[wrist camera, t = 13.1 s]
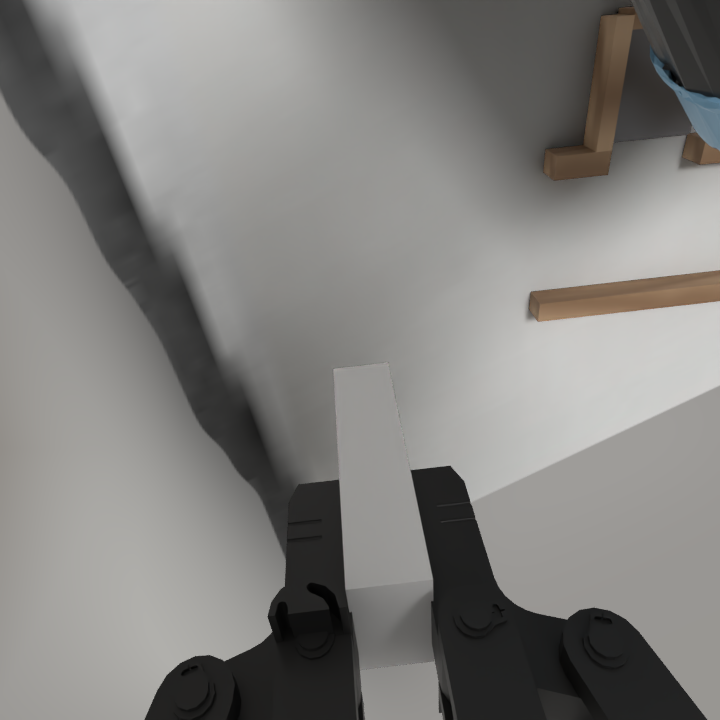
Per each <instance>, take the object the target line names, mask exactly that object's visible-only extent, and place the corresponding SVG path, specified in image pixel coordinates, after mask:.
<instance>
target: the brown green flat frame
mask: <svg viewBox="0 0 720 720" xmlns="http://www.w3.org/2000/svg"><path fill="white" fill-rule="evenodd" d="M691 126H692V124H691V122H690V120H689V118H688V116H687V114H686V112H685V110H684V108H683V106H682V104H681V103H680V101H679V99H678V97H677V95H676V93H675V91H674V90H673V89H672V88H670V87H669V86H668V85H667V84H666V83H665V82H664V81H663V80H662V78H661V77H660V76H659V74H658V73H657V72H656V70H655V67H654V65H653V63H652V60H651V58H650V43H649V41H648V38H647V36H646V34H645V31H644V29H643V27H642V25H641V22H640V20H639V18H638V15H637V13H636V11H635V9H634V6H632V7H623V8H619V11H618V14H614V15H604V16H601V20H600V27H599V34H598V41H597V49H596V56H595V63H594V70H593V77H592V84H591V92H590V99H589V106H588V113H587V120H586V127H585V135H584V142H583V145H578V146H569V147H560V148H551V149H545V159H544V169H543V173H545V174H546V175H547V176H549V177H550V178H551V179H553V180H554V181H556V180H565V179H574V178H583V177H592V176H601V175H608V172H609V166H610V160H611V154H612V148H613V142H623V141H632V140H641V139H650V138H659V137H668V136H678V135H687V139H686V143H685V147H684V151H683V155H682V157H683V158H685V159H688V160H690V161H692V162H695V163H697V164H699V165H701V164H710V163H719V162H720V151H719V150H718V149H715V148H713V147H711V146H709V145H708V144H707V143H706V142H705V141H704V140H703V139H702V138H701V137H700V136H699V135H698V133H690V130H691ZM716 301H720V271H711V272H702V273H693V274H685V275H676V276H667V277H658V278H649V279H640V280H631V281H623V282H614V283H605V284H596V285H587V286H578V287H569V288H561V289H552V290H543V291H534V292H531V295H530V305H529V310H530V311H531V312H532V314H533V315H534V317H535V318H536V320H537V321H538V322H540V321H549V320H557V319H566V318H575V317H584V316H593V315H601V314H610V313H619V312H628V311H637V310H645V309H654V308H663V307H672V306H681V305H689V304H698V303H707V302H716Z"/></svg>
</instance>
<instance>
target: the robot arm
mask: <svg viewBox="0 0 720 720" xmlns="http://www.w3.org/2000/svg"><path fill="white" fill-rule="evenodd" d="M631 2H632V4H633V6H634V9H635V11H636V13H637V15H638V18H639V20H640V22H641V25H642V27H643V29H644V31H645V34H646V36H647V38H648V41H649V43H650V58H651V60H652V63H653V65H654V67H655V70H656V72H657V73H658V74H659V76H660V77H661V78H662V80H663V81H664V82H665V83H666V84H667V85H668V86H669V87H670V88H672V89H673V90H674V91H675V93H676V95H677V97H678V99H679V101H680V103H681V104H682V106H683V108H684V110H685V112H686V114H687V116H688V118H689V120H690V122H691V124H692V126H693V128H694V129H695V130H696V132H697V133H698V135H699V136H700V137H701V138H702V139H703V140H704V141H705V142H706V143H707V144H708V145H709V146H711V147H713V148H715V149H718V150H719V151H720V0H631ZM333 375H334V393H335V411H336V429H337V447H338V465H339V480H334V481H325V482H316V483H307V484H299V485H298V487H297V488H296V490H295V492H294V494H293V496H292V498H291V500H290V502H289V510H288V531H287V553H286V574H285V587H283V588H282V589H281V590H280V591H279V592H278V594H277V595H276V597H275V598H274V599H273V601H272V602H271V606H270V610H269V613H268V619H269V622H270V625H271V629H272V631H273V632H272V633H271V634H270V635H269V636H268V637H267V638H266V639H265V640H264V641H263V642H262V643H261V644H259V645H257V646H255V647H253V648H252V649H250V650H248V651H246V652H244V653H242V654H239V655H237V656H235V657H233V658H231V659H229V660H226V661H223V660H221V659H218V658H216V657H213V656H210V655H207V656H195V657H193V658H191V659H189V660H186V661H184V662H182V663H180V664H179V665H178V666H177V667H176V668H175V669H173V670H172V671H171V672H170V673H169V674H168V675H167V676H166V678H165V679H164V681H163V683H162V684H161V686H160V687H159V689H158V690H157V693H156V695H155V697H154V699H153V702H152V704H151V706H150V708H149V711H148V713H147V715H146V718H145V720H365V717H364V703H363V698H362V692H361V680H360V670H364V669H373V668H381V667H389V666H398V665H407V664H415V663H423V662H431V661H434V658H435V664H436V669H437V674H438V680H439V713H442V715H443V720H707V719H706V718H705V716H704V715H703V714H702V712H701V711H700V710H699V709H698V707H697V706H696V705H695V703H694V702H693V701H692V699H691V698H690V697H689V696H688V694H687V693H686V692H685V691H684V689H683V688H682V687H681V686H680V684H679V683H678V681H676V679H675V678H674V676H673V675H672V674H671V673H670V671H669V670H668V669H667V668H666V666H665V665H664V664H663V662H662V661H661V660H660V658H659V657H658V656H657V655H656V653H655V652H654V651H653V649H652V648H651V647H650V646H649V645H648V643H647V642H646V641H645V639H644V638H643V637H642V635H641V634H640V633H639V632H638V631H637V630H636V629H635V628H634V627H633V626H632V625H631V624H630V623H629V622H628V621H627V620H626V619H624V618H622V617H621V616H619V615H617V614H615V613H613V612H611V611H608V610H603V609H598V608H590V609H583V610H579V611H578V612H576V613H575V614H573V615H572V616H570V617H569V618H568V620H565V619H561V618H556V617H551V616H546V615H541V614H537V613H533V612H530V611H527V610H525V609H523V608H521V607H519V606H517V605H516V604H514V603H513V602H512V601H510V600H509V599H508V598H507V597H506V596H505V595H504V594H503V592H502V591H501V590H500V589H499V587H498V585H497V583H496V581H495V579H494V576H493V572H492V569H491V566H490V563H489V560H488V557H487V553H486V550H485V547H484V544H483V540H482V537H481V534H480V531H479V528H478V524H477V521H476V520H475V515H474V512H473V508H472V505H471V504H470V499H469V495H468V492H467V489H466V486H465V483H464V481H463V480H462V479H461V477H460V476H459V475H458V474H457V473H456V472H455V471H454V470H453V469H452V467H451V466H444V467H436V468H427V469H418V470H410V465H409V461H408V456H407V451H406V446H405V441H404V436H403V432H402V427H401V422H400V417H399V412H398V407H397V402H396V398H395V393H394V388H393V383H392V378H391V373H390V369H389V364H388V362H387V363H378V364H369V365H360V366H351V367H342V368H334V369H333Z"/></svg>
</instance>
